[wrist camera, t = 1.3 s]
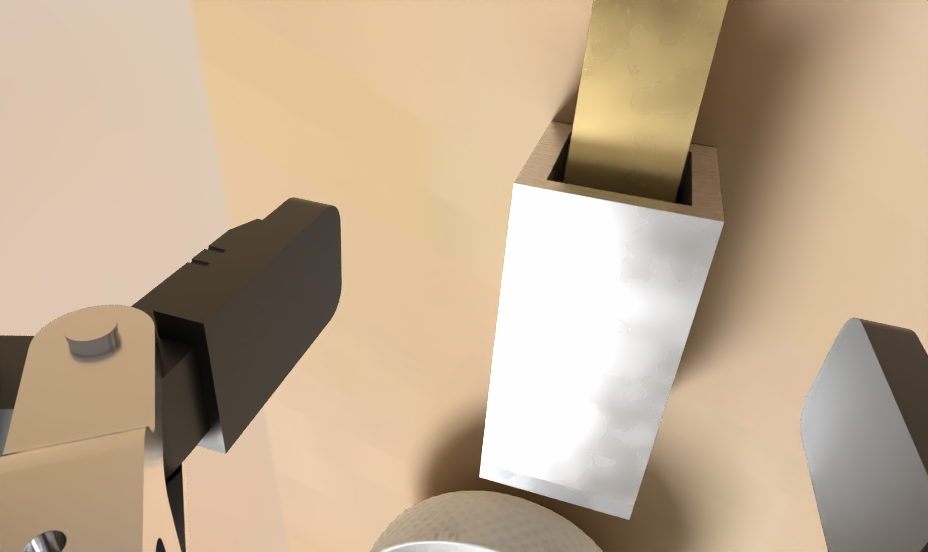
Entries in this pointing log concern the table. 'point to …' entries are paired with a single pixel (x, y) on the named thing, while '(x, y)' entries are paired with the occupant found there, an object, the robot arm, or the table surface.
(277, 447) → the table surface
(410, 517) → the cereal bowl
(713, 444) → the table surface
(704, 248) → the sleeve
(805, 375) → the table surface
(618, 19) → the rod
